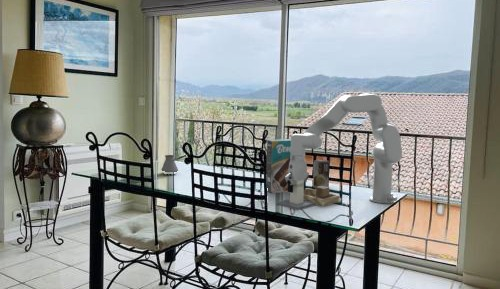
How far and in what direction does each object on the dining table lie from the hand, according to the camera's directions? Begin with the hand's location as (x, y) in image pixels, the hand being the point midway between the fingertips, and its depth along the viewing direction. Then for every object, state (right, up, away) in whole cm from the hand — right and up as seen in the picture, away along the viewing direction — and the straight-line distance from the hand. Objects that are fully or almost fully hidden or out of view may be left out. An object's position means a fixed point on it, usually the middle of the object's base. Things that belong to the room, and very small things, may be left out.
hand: (296, 190), depth 227 cm
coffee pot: (-75, +3, +71) cm, 103 cm away
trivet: (0, -7, +1) cm, 7 cm away
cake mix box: (-3, -3, +31) cm, 32 cm away
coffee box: (+19, -2, +42) cm, 46 cm away
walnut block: (+14, -7, +7) cm, 17 cm away
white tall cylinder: (0, -6, +1) cm, 6 cm away
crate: (+11, -6, +11) cm, 17 cm away
